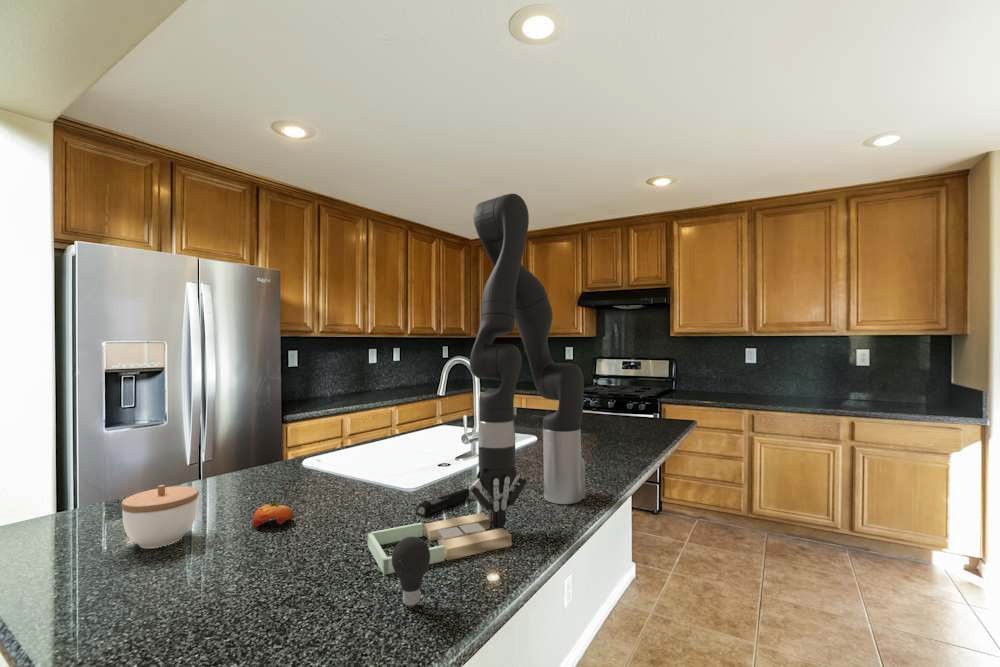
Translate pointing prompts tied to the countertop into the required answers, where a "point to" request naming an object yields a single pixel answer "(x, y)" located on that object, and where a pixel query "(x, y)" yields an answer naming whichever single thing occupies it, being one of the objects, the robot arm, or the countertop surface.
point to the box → (393, 536)
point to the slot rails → (468, 536)
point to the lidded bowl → (160, 515)
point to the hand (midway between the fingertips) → (497, 527)
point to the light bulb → (411, 567)
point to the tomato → (271, 514)
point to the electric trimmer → (442, 502)
